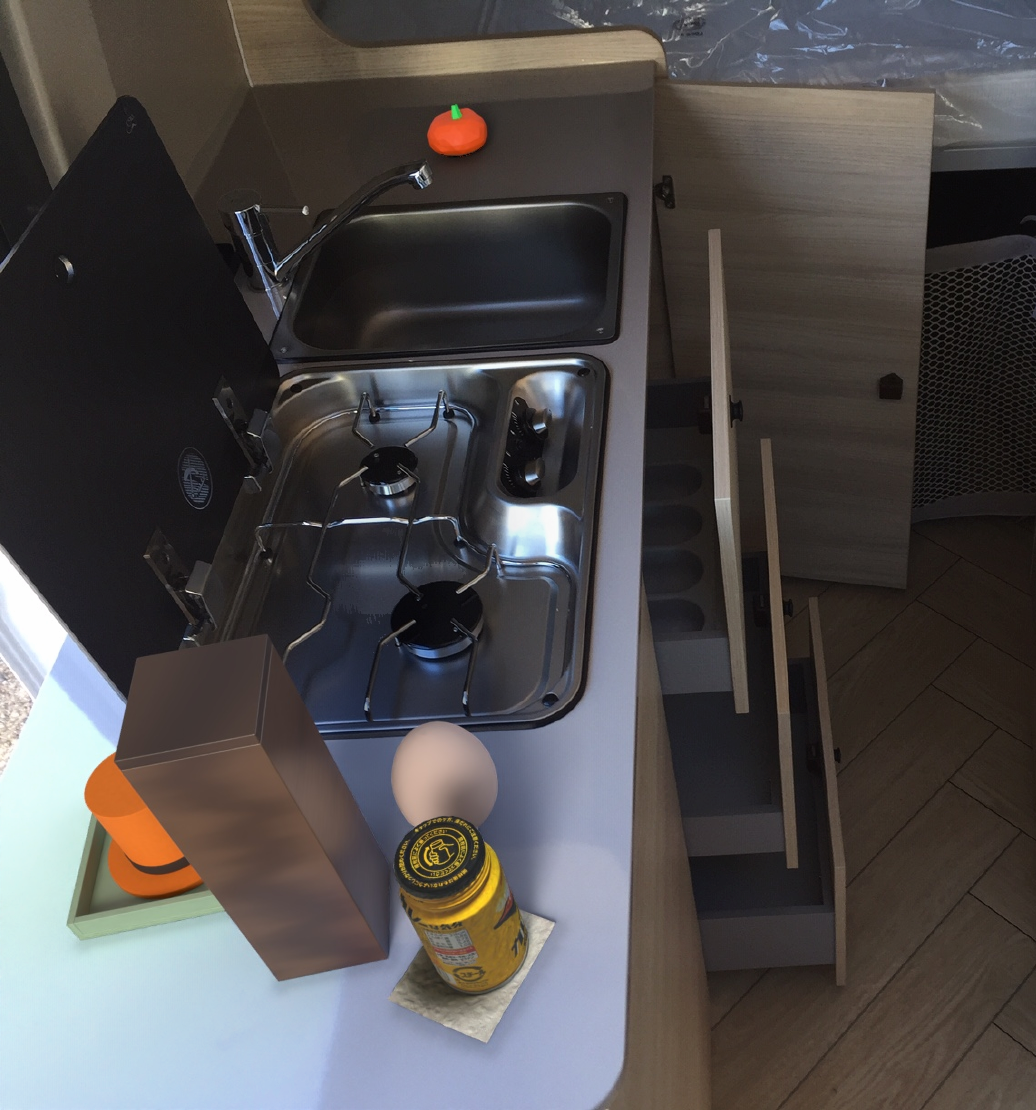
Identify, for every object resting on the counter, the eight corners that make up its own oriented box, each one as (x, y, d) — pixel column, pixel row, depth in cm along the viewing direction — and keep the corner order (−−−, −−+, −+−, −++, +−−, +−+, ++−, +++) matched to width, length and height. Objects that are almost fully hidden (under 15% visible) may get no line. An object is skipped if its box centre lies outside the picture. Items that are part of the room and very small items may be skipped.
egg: (413, 871, 82) (372, 790, 75) (412, 790, 87) (372, 706, 80) (513, 849, 83) (480, 766, 76) (506, 769, 87) (475, 685, 81)
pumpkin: (422, 154, 159) (409, 106, 154) (476, 134, 162) (465, 87, 157) (447, 173, 154) (434, 124, 150) (502, 152, 157) (491, 104, 153)
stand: (278, 982, 77) (112, 761, 60) (286, 885, 82) (136, 657, 65) (388, 958, 78) (255, 734, 61) (390, 864, 83) (267, 632, 66)
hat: (101, 912, 81) (47, 852, 76) (122, 802, 87) (73, 739, 82) (237, 882, 82) (193, 820, 76) (248, 775, 88) (208, 711, 83)
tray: (80, 940, 80) (65, 925, 79) (112, 792, 89) (100, 775, 87) (263, 903, 81) (251, 887, 80) (278, 760, 90) (268, 743, 88)
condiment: (556, 924, 78) (518, 822, 70) (487, 1044, 73) (437, 950, 65) (462, 888, 81) (414, 785, 72) (388, 1002, 76) (328, 905, 67)
